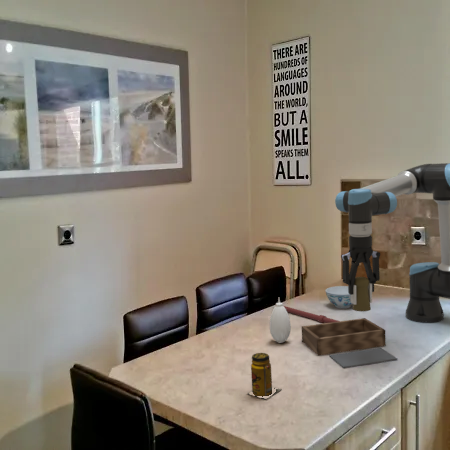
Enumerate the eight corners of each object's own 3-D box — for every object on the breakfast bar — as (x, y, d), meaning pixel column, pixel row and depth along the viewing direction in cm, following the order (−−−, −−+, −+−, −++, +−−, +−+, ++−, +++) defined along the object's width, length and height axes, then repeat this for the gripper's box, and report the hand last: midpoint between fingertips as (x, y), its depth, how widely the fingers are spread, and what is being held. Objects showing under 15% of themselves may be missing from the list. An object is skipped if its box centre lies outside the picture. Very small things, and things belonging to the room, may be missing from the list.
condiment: (246, 394, 163) (244, 356, 162) (262, 384, 170) (261, 348, 168) (265, 400, 158) (264, 361, 157) (282, 390, 165) (280, 352, 163)
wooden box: (365, 332, 211) (364, 318, 211) (385, 345, 197) (385, 330, 196) (302, 341, 205) (301, 326, 205) (318, 355, 191) (317, 339, 190)
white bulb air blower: (295, 341, 206) (293, 295, 204) (282, 347, 200) (280, 300, 198) (278, 337, 211) (276, 292, 209) (266, 343, 206) (264, 297, 203)
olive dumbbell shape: (371, 311, 180) (370, 279, 179) (352, 311, 181) (352, 279, 180) (370, 306, 186) (369, 275, 185) (352, 306, 187) (351, 275, 186)
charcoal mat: (380, 349, 194) (380, 347, 194) (397, 360, 183) (397, 358, 183) (329, 356, 189) (329, 355, 189) (343, 368, 178) (343, 366, 178)
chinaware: (362, 310, 241) (362, 293, 240) (329, 311, 241) (328, 295, 240) (355, 301, 256) (354, 285, 254) (323, 302, 256) (322, 286, 255)
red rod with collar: (357, 330, 215) (356, 323, 215) (351, 332, 213) (351, 325, 213) (279, 308, 250) (278, 302, 250) (274, 310, 249) (273, 303, 248)
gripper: (340, 238, 175) (341, 308, 178) (390, 234, 179) (391, 302, 182) (330, 235, 182) (332, 302, 185) (379, 231, 186) (380, 297, 189)
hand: (361, 302), depth 183 cm, fingers closed on olive dumbbell shape, 5 cm apart
